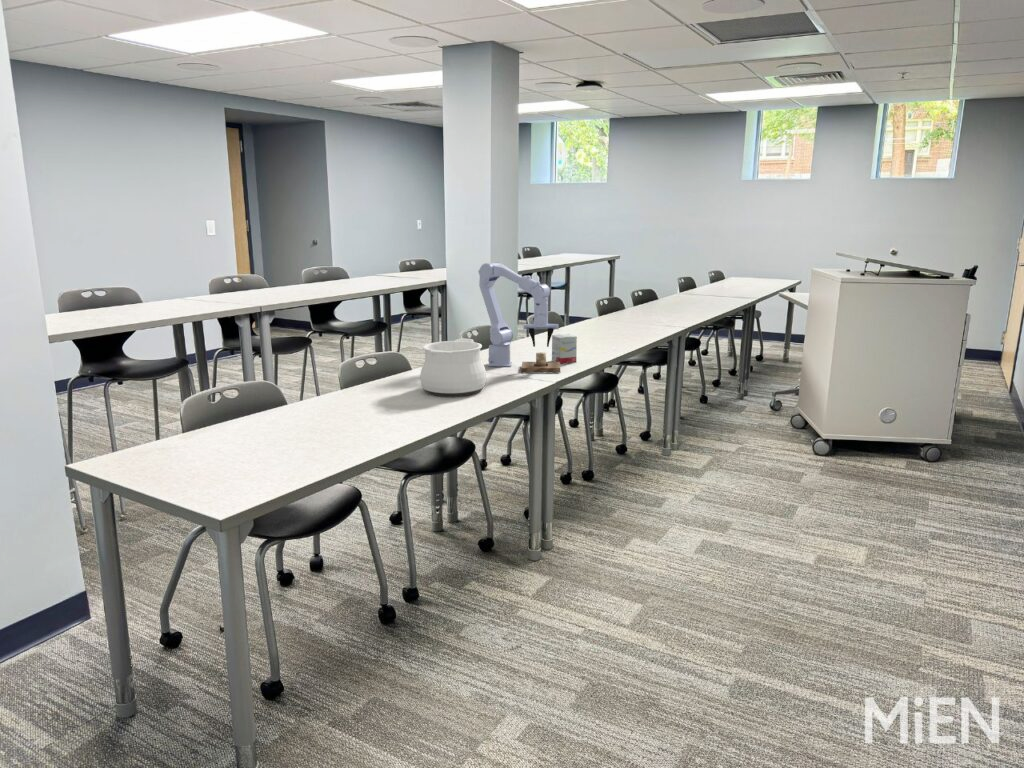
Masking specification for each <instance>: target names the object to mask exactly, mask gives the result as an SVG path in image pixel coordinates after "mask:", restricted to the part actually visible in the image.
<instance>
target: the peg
mask: <svg viewBox="0 0 1024 768" xmlns="http://www.w3.org/2000/svg"><path fill="white" fill-rule="evenodd" d="M535 362H536V366H546V362H547V352H542V351H541V352H536V354H535Z"/></svg>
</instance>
